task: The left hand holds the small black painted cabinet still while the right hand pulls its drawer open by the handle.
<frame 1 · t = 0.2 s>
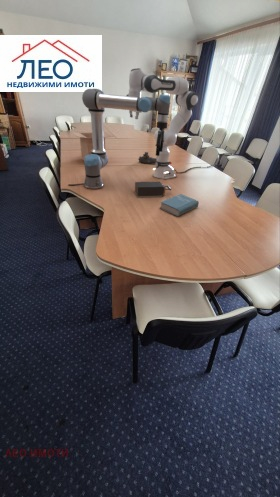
left hand: (158, 153, 168), 28 cm above the table, tool pointing down, fingers open, 13 cm apart
right hand: (133, 118, 170), 48 cm above the table, tool pointing down, fingers open, 8 cm apart
book: (179, 208, 157), on the table
cabinet: (148, 194, 174), on the table
laser sight: (148, 163, 243), on the table
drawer: (155, 189, 173), point 4 cm above the table, slide at 0.5 cm
box: (93, 161, 237), on the table
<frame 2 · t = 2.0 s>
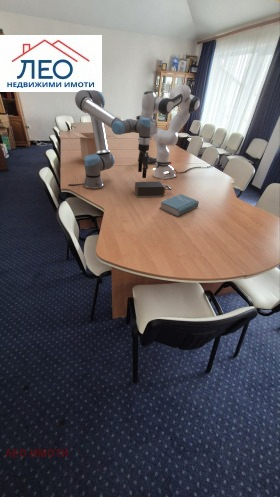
left hand: (141, 174, 164), 15 cm above the table, tool pointing down, fingers open, 13 cm apart
right hand: (145, 138, 170), 36 cm above the table, tool pointing down, fingers open, 8 cm apart
nothing on the table moved.
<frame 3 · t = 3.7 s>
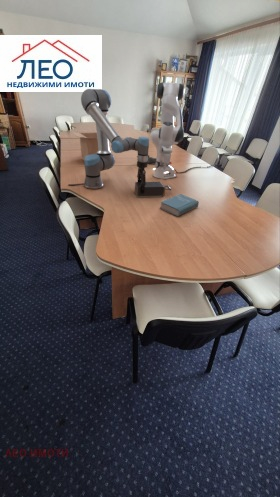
left hand: (140, 190, 171), 3 cm above the table, tool pointing down, fingers closed on cabinet, 11 cm apart
right hand: (162, 167, 168), 19 cm above the table, tool pointing down, fingers open, 8 cm apart
cabinet: (148, 194, 174), on the table, touching left hand
everything else where it was.
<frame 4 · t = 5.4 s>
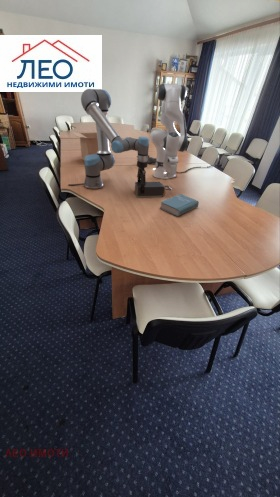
left hand: (140, 190, 171), 3 cm above the table, tool pointing down, fingers closed on cabinet, 11 cm apart
right hand: (167, 176, 169), 14 cm above the table, tool pointing down, fingers closed
cabinet: (148, 194, 174), on the table, touching left hand
everything else where it was.
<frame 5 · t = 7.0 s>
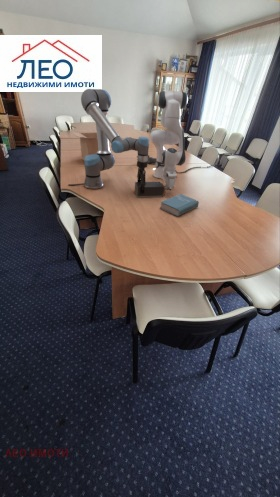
left hand: (140, 190, 171), 3 cm above the table, tool pointing down, fingers closed on cabinet, 11 cm apart
right hand: (166, 189, 175), 3 cm above the table, tool pointing down, fingers closed, pressing on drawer
cabinet: (148, 194, 174), on the table, touching left hand
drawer: (155, 189, 173), point 4 cm above the table, slide at 0.6 cm, touching right hand
everything else where it was.
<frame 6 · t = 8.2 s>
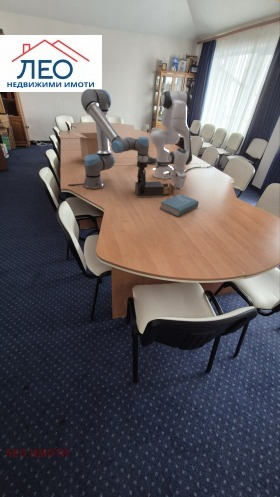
left hand: (140, 190, 171), 3 cm above the table, tool pointing down, fingers closed on cabinet, 11 cm apart
right hand: (175, 189, 177), 3 cm above the table, tool pointing down, fingers closed, pressing on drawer
cabinet: (148, 194, 174), on the table, touching left hand
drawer: (164, 188, 174), point 4 cm above the table, slide at 7.8 cm, touching right hand
everything else where it was.
when the left hand's fingers open (3 cm above the table, at t = 10.2 s): cabinet stays where it is, on the table.
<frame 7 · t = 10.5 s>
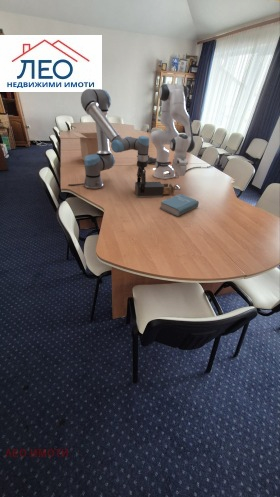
left hand: (140, 189, 170), 4 cm above the table, tool pointing down, fingers open, 13 cm apart
right hand: (176, 177, 171), 13 cm above the table, tool pointing down, fingers closed
cabinet: (148, 194, 174), on the table
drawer: (164, 188, 174), point 4 cm above the table, slide at 7.9 cm
everything else where it was.
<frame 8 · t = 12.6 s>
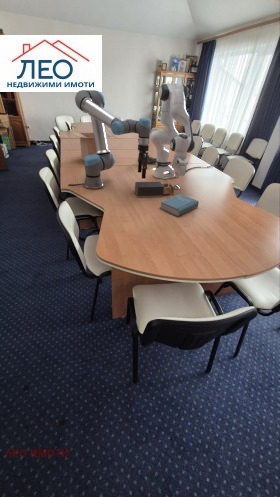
left hand: (141, 175, 164), 15 cm above the table, tool pointing down, fingers open, 13 cm apart
right hand: (176, 177, 171), 13 cm above the table, tool pointing down, fingers closed
nothing on the table moved.
at the end: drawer slide at 7.9 cm; cabinet tilted 0°; cabinet never tilted more than 1° during the clip; cabinet moved 0.1 cm from its start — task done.
